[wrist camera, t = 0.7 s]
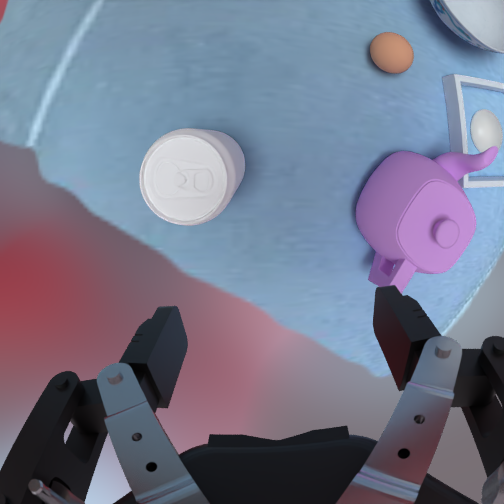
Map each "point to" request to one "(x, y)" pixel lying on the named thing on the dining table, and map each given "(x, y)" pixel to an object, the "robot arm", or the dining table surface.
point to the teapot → (418, 214)
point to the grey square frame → (459, 124)
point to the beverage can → (191, 175)
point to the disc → (485, 130)
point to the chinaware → (474, 21)
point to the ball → (391, 52)
